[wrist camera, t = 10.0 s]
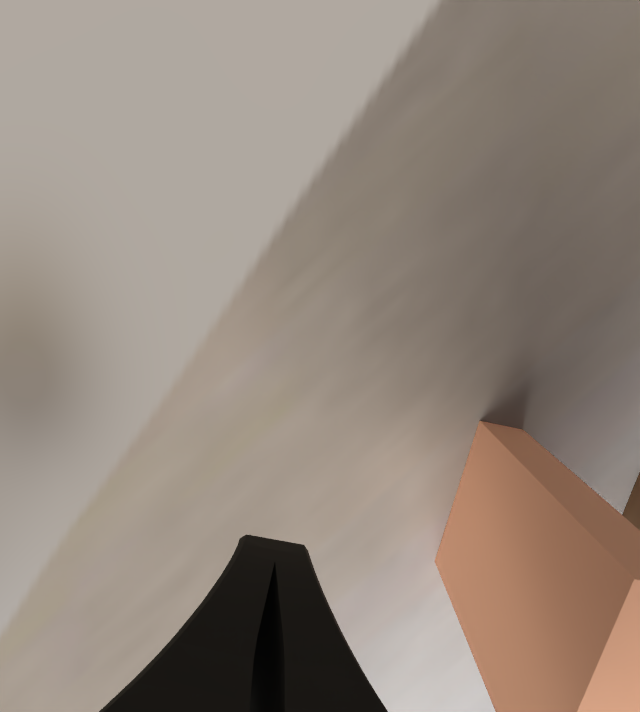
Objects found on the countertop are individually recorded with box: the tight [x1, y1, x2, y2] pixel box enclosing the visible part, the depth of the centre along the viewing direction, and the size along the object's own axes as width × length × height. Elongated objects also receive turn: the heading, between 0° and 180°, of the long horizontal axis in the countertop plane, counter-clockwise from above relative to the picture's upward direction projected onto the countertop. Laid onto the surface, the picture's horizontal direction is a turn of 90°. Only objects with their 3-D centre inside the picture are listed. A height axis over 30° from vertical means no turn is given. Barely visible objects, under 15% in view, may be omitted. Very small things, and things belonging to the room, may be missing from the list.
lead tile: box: [435, 421, 640, 712], centre depth 12 cm, size 1×5×7 cm, turn 167°
